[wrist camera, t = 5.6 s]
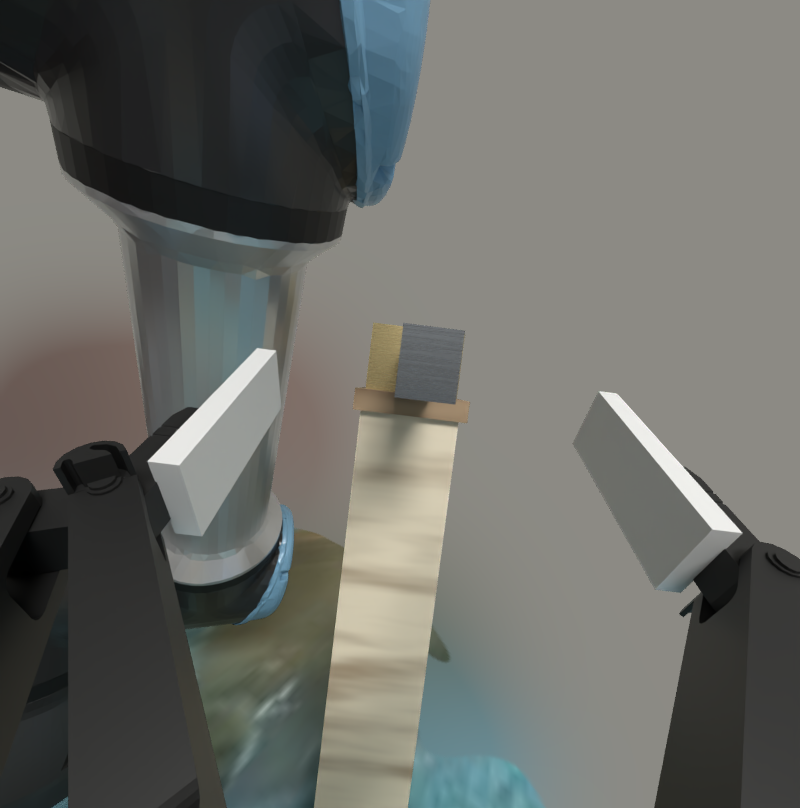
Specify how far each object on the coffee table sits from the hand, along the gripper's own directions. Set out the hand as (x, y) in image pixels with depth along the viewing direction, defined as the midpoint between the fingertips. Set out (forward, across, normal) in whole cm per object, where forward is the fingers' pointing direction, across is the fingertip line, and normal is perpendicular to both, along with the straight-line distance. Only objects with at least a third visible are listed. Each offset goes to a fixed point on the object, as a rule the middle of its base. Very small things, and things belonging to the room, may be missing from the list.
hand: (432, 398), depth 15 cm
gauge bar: (+7, 0, -4) cm, 9 cm away
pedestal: (-7, 0, -38) cm, 39 cm away
